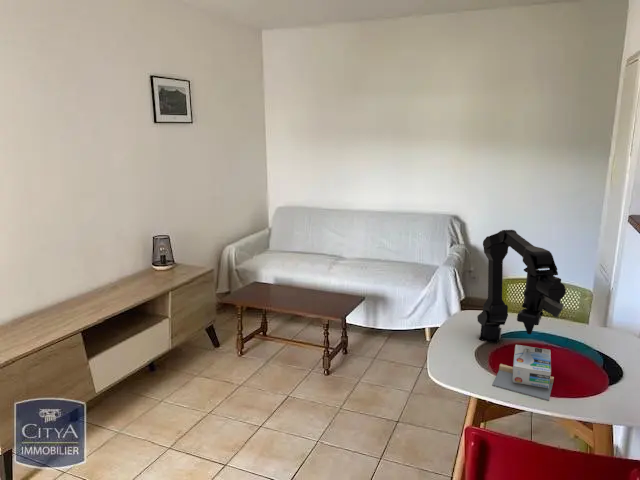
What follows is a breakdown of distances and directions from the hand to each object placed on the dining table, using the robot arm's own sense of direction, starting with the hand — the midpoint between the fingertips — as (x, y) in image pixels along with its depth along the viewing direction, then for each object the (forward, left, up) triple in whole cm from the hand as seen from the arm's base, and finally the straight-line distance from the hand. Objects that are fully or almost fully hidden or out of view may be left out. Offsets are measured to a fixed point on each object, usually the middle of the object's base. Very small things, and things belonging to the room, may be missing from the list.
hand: (529, 333), depth 154 cm
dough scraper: (+1, -11, -13) cm, 17 cm away
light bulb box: (+2, -2, -6) cm, 7 cm away
